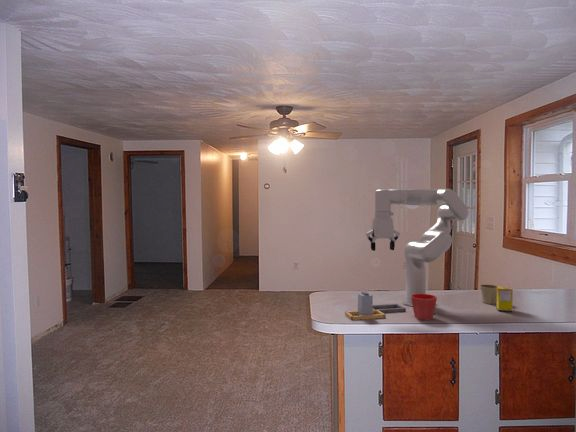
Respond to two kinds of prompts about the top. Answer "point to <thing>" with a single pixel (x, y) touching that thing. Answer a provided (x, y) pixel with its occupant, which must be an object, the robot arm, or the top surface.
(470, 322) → the top surface
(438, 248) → the robot arm
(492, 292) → the flower pot
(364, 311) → the plug
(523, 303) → the top surface
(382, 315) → the tan grey double frame
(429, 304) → the flower pot
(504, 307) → the supplement box
